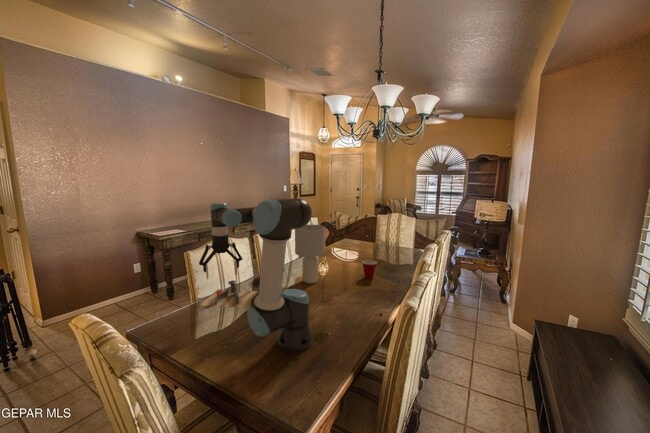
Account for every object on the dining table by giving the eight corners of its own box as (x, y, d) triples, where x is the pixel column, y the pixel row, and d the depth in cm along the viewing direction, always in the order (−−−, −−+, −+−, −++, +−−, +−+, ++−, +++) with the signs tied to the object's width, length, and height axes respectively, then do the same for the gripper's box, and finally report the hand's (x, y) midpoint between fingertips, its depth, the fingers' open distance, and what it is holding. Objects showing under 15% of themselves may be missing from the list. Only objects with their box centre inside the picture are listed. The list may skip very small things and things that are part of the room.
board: (258, 293, 174) (258, 291, 174) (245, 309, 153) (245, 307, 153) (218, 291, 177) (217, 289, 177) (199, 307, 155) (199, 305, 155)
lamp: (330, 283, 192) (331, 226, 186) (304, 289, 180) (304, 230, 175) (314, 274, 208) (314, 222, 203) (290, 279, 197) (289, 225, 191)
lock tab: (219, 293, 161) (219, 289, 160) (222, 293, 160) (222, 289, 160) (216, 295, 158) (216, 291, 157) (219, 295, 157) (219, 291, 157)
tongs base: (231, 291, 174) (231, 282, 173) (235, 291, 174) (235, 283, 173) (214, 304, 156) (214, 295, 155) (219, 305, 155) (218, 295, 155)
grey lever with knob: (228, 291, 174) (227, 281, 173) (236, 289, 176) (236, 279, 175) (232, 304, 156) (231, 293, 155) (241, 302, 158) (240, 292, 157)
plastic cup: (376, 275, 206) (377, 260, 205) (376, 281, 196) (376, 264, 194) (362, 274, 209) (362, 258, 207) (360, 279, 199) (360, 263, 197)
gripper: (244, 231, 147) (245, 270, 150) (191, 235, 136) (194, 277, 139) (247, 233, 140) (248, 274, 143) (192, 238, 129) (194, 282, 132)
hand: (222, 276), depth 141 cm, fingers open, 13 cm apart
